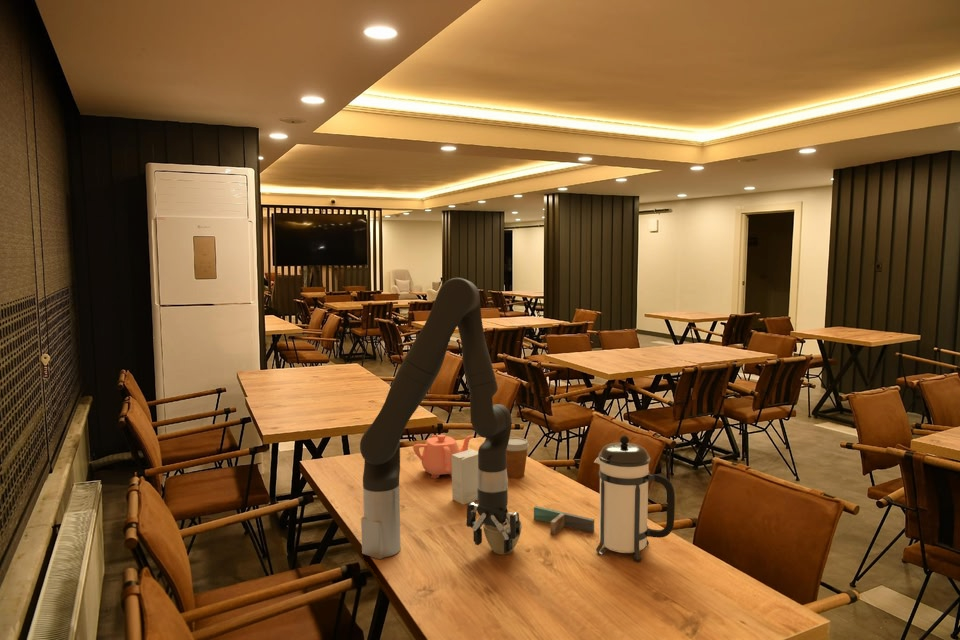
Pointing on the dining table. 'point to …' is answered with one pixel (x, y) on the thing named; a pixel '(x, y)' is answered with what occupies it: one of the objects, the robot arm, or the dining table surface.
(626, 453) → the coffee press
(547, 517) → the t-shaped slab assembly
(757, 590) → the dining table surface
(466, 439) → the teapot
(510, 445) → the disposable coffee cup
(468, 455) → the skincare box
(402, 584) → the dining table surface
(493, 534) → the flower pot
